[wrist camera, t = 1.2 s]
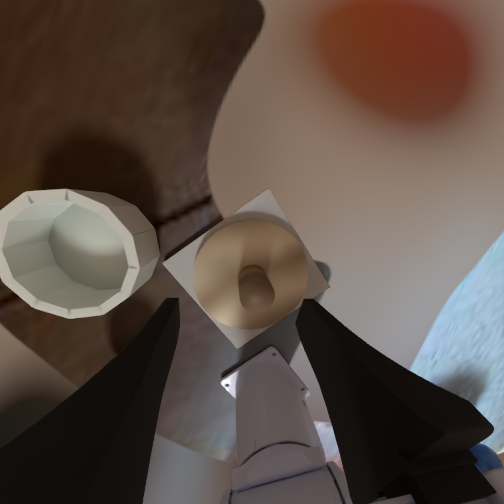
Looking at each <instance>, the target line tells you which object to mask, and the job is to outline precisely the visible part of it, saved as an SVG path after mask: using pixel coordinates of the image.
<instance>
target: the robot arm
mask: <svg viewBox="0 0 504 504" xmlns="http://www.w3.org/2000/svg"><path fill="white" fill-rule="evenodd" d="M296 327H297V330H298V334H299V337H300V340H301V343H302V345H303V347H304V350H305V352H306V354H307V357H308V359H309V361H310V364H311V366H312V368H313V371H314V373H315V375H316V378H317V380H318V383H319V385H320V388H321V392H322V395H323V398H324V401H325V404H326V407H327V410H328V414H329V417H330V420H331V424H332V427H333V431H334V434H335V438H336V442H337V445H338V449H339V453H340V457H341V461H342V465H343V469H344V471H343V470H342V469H341V468H340V467H339V466H337V464H336V463H335V462H334V461H330V462H327V463H326V459H325V453H324V449H323V446H322V443H321V441H320V438H319V435H318V433H317V430H316V428H315V425H314V422H313V420H312V417H311V414H310V412H309V409H308V406H307V404H306V401H305V398H306V397H308V396H309V395H310V392H309V390H308V388H307V387H306V386H305V385H304V384H303V382H302V381H301V380H300V378H299V377H298V376H297V375H296V373H295V372H294V371H293V370H292V368H291V367H290V366H289V365H288V363H287V362H286V361H285V360H284V358H283V357H282V356H281V355H280V353H279V352H278V351H277V350H276V348H275V347H273V346H270V347H268V348H267V349H265V350H264V351H262V352H261V353H259V354H258V355H256V356H255V357H253V358H252V359H250V360H249V361H247V362H246V363H244V364H243V365H241V366H240V367H238V368H237V369H235V370H234V371H232V372H231V373H229V374H228V375H226V376H225V377H223V378H222V379H221V385H222V386H223V387H224V388H225V389H226V390H227V391H228V392H229V393H230V394H231V395H232V396H233V397H234V398H235V399H236V439H237V468H235V469H233V470H232V489H229V490H226V491H225V492H224V493H223V495H222V499H221V501H220V503H219V504H504V467H501V468H497V469H493V470H489V471H486V472H483V473H481V472H480V471H479V469H478V468H477V467H476V466H475V464H474V463H477V462H478V461H477V458H476V457H475V456H474V455H473V453H472V452H471V451H470V450H469V449H470V448H472V447H473V446H475V445H477V444H478V443H480V442H481V441H483V440H484V439H486V438H487V437H489V436H490V435H491V434H492V433H493V431H494V427H493V425H492V424H491V423H490V422H489V421H488V420H487V419H486V418H485V417H484V416H483V415H482V414H481V413H480V412H479V411H478V410H477V409H476V408H475V407H474V406H473V405H472V404H471V403H470V402H469V401H467V400H465V399H463V398H461V397H459V396H457V395H455V394H453V393H451V392H449V391H447V390H445V389H443V388H441V387H439V386H437V385H435V384H433V383H431V382H429V381H427V380H425V379H424V378H422V377H420V376H418V375H416V374H414V373H413V372H411V371H409V370H407V369H406V368H404V367H402V366H401V365H399V364H398V363H396V362H394V361H393V360H391V359H389V358H388V357H386V356H385V355H383V354H382V353H380V352H379V351H377V350H376V349H375V348H373V347H372V346H370V345H369V344H367V343H366V342H365V341H363V340H362V339H361V338H359V337H358V336H357V335H355V334H354V333H353V332H352V331H350V330H349V329H348V328H347V327H345V326H344V325H343V324H342V323H341V322H339V321H338V320H337V319H336V318H335V317H334V316H333V315H331V314H330V313H329V312H328V311H327V310H326V309H325V308H323V307H322V306H321V305H320V304H319V303H318V302H316V301H315V300H314V299H303V302H302V305H301V308H300V311H299V314H298V317H297V320H296ZM179 328H180V313H179V298H166V299H165V300H164V301H163V302H162V304H161V305H160V306H159V308H158V309H157V310H156V312H155V313H154V314H153V315H152V317H151V318H150V319H149V320H148V322H147V323H146V324H145V325H144V326H143V327H142V329H141V330H140V331H139V332H138V333H137V334H136V335H135V336H134V337H133V339H132V340H131V341H130V342H129V343H128V344H127V345H126V346H125V347H124V348H123V349H122V350H121V351H120V352H119V353H118V354H117V355H116V356H115V357H114V358H113V359H112V360H111V361H110V362H109V363H108V364H107V365H105V366H104V367H103V368H102V369H101V370H100V371H99V372H98V373H97V374H95V375H94V376H93V377H92V378H91V379H90V380H89V381H87V382H86V383H85V384H84V385H83V386H82V387H80V388H79V389H78V390H77V391H76V392H74V393H73V394H72V395H71V396H69V397H68V398H67V399H66V400H64V401H63V402H62V403H60V404H59V405H58V406H57V407H55V408H54V409H53V410H52V411H50V412H49V413H48V414H46V415H45V416H44V417H43V418H41V419H40V420H39V421H37V422H36V423H35V424H33V425H32V426H31V427H29V428H28V429H27V430H25V431H24V432H22V433H21V434H20V435H18V436H17V437H15V438H14V439H13V440H11V441H10V442H9V443H7V444H6V445H4V446H3V447H2V448H0V504H142V503H143V497H144V491H145V485H146V480H147V474H148V468H149V463H150V457H151V451H152V446H153V441H154V435H155V430H156V425H157V420H158V415H159V409H160V404H161V400H162V395H163V391H164V388H165V384H166V381H167V377H168V374H169V370H170V367H171V363H172V360H173V356H174V352H175V349H176V345H177V340H178V334H179ZM273 353H275V354H273Z"/></svg>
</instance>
